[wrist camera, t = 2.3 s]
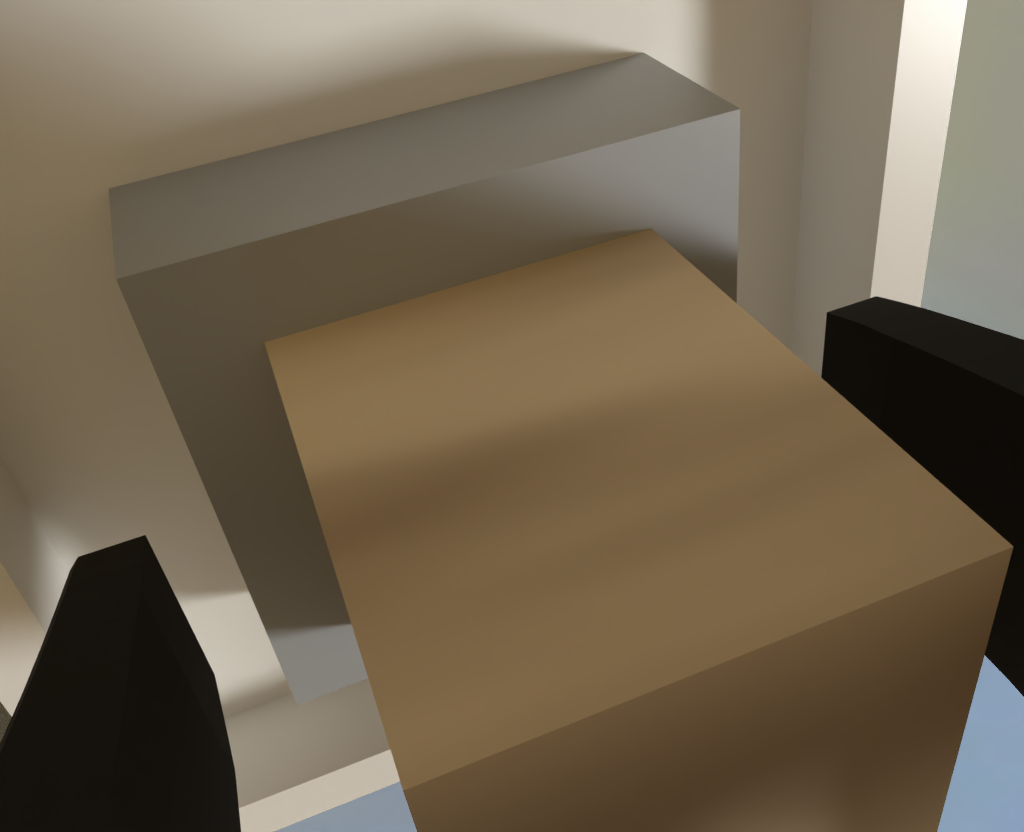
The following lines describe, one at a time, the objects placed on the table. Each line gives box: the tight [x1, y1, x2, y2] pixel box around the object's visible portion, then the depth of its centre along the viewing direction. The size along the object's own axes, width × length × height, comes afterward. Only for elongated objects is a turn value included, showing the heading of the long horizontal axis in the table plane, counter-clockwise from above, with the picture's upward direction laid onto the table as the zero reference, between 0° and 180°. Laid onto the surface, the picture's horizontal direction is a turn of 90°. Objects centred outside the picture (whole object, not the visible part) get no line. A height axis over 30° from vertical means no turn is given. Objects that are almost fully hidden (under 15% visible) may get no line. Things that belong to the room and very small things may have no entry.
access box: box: [0, 0, 967, 832], centre depth 12 cm, size 12×12×2 cm
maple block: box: [264, 229, 1013, 832], centre depth 9 cm, size 4×4×5 cm
